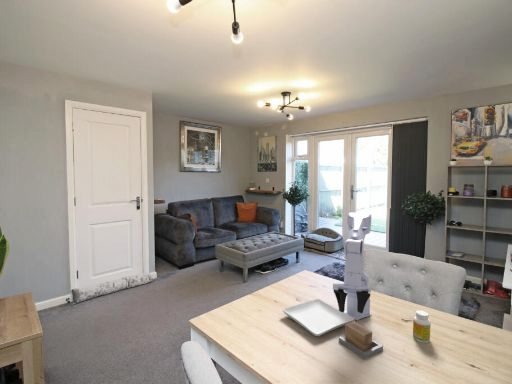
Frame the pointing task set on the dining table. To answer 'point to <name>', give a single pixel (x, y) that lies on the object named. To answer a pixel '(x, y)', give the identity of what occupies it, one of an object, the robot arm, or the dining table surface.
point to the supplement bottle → (421, 326)
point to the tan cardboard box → (358, 336)
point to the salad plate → (317, 316)
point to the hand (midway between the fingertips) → (350, 312)
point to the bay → (362, 354)
